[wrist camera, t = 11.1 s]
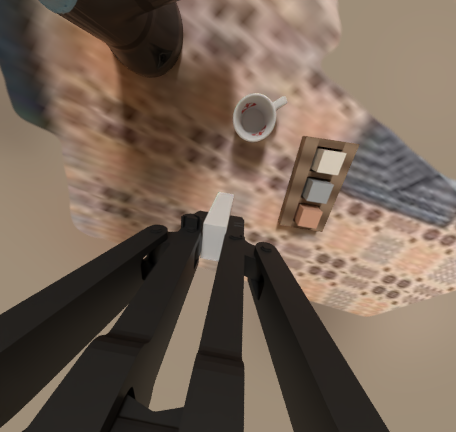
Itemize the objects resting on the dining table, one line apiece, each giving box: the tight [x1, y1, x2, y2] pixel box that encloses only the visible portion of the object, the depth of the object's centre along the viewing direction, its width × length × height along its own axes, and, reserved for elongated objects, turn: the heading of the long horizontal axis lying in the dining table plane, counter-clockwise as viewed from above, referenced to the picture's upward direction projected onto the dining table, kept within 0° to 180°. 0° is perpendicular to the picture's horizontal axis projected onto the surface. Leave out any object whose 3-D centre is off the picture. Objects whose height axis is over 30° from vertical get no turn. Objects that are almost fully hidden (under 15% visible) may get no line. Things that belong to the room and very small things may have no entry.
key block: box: [278, 136, 359, 232], centre depth 43 cm, size 21×11×3 cm, turn 172°
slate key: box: [301, 177, 334, 204], centre depth 41 cm, size 4×4×4 cm
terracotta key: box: [294, 202, 323, 229], centre depth 44 cm, size 4×4×4 cm
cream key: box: [310, 148, 347, 175], centre depth 38 cm, size 4×4×4 cm
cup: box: [233, 93, 287, 142], centre depth 36 cm, size 11×8×8 cm
